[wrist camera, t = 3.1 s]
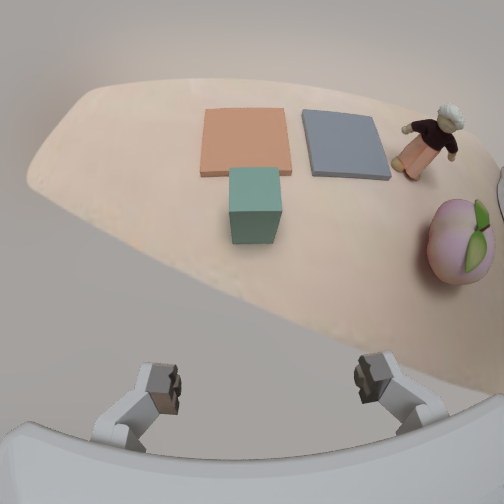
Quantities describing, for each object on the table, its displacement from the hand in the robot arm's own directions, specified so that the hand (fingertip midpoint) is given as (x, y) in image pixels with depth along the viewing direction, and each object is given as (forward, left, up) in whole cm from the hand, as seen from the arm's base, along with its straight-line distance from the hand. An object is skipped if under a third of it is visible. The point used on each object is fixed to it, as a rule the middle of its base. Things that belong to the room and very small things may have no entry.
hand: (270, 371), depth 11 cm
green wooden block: (0, -13, -14) cm, 19 cm away
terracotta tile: (+1, -24, -14) cm, 28 cm away
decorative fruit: (-22, -9, -14) cm, 28 cm away
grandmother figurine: (-21, -21, -14) cm, 33 cm away
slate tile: (-12, -24, -14) cm, 30 cm away
